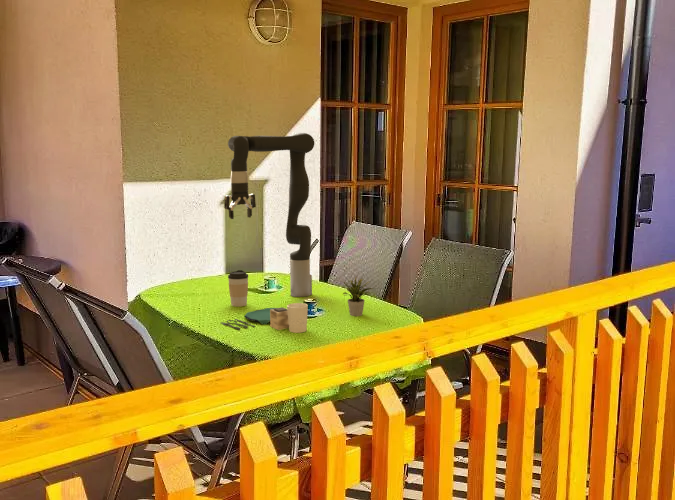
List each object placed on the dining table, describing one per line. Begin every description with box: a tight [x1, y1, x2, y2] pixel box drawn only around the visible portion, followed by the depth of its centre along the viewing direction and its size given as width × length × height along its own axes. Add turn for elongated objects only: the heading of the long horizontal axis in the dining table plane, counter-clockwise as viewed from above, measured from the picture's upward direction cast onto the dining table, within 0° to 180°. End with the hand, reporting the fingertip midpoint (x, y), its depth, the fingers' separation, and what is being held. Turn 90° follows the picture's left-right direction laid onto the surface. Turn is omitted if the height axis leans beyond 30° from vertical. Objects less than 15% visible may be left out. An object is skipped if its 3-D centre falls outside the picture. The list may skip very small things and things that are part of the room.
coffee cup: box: [227, 269, 249, 307], centre depth 310 cm, size 9×9×15 cm
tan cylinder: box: [286, 302, 309, 334], centre depth 269 cm, size 8×8×10 cm
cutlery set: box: [220, 307, 276, 331], centre depth 286 cm, size 20×30×2 cm, turn 129°
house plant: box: [341, 277, 374, 317], centre depth 291 cm, size 14×14×16 cm
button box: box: [269, 309, 289, 331], centre depth 274 cm, size 6×6×7 cm
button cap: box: [274, 306, 287, 312], centre depth 274 cm, size 4×4×2 cm
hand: (240, 218), depth 311 cm, fingers open, 8 cm apart
